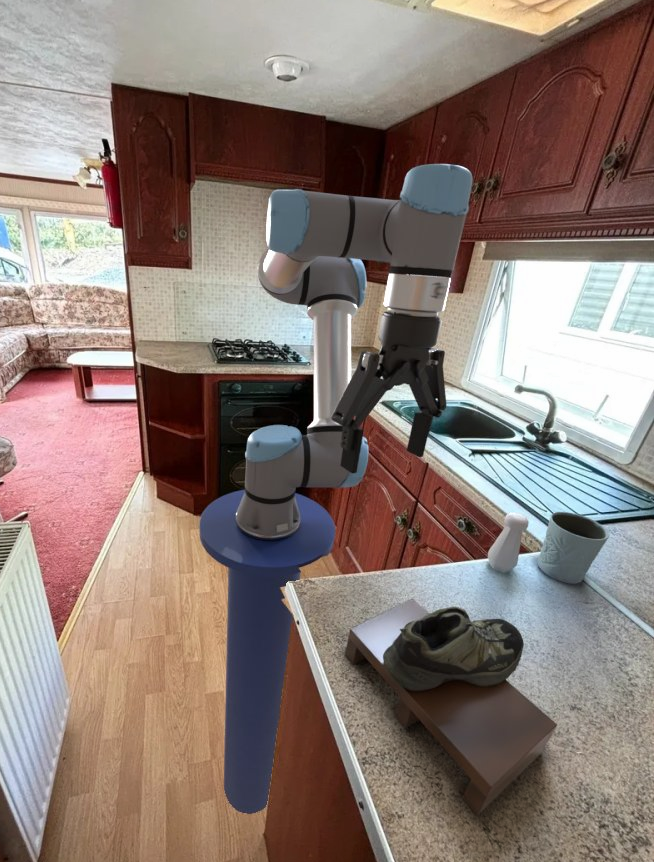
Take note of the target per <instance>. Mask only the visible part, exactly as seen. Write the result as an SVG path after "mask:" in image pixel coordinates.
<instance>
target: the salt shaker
mask: <svg viewBox="0 0 654 862" xmlns="http://www.w3.org/2000/svg"><path fill="white" fill-rule="evenodd" d="M503 522H504V525H505V526H504V528H503V529H502V530H501V532H500V534H499V535H498V537H497V538H496V540H495V541H494V543H492V545H491V546H490V548H489V550H488V552H487V559H488V560H487V561H488V565H490V567H491V568H492V569H493V570H495V571H497V572H500V573H503V574H505V573H510V572H511V571H512V570H513V569H515V568H516V567H517V566H518V562H519V556H520V550H521V543H522V537H523V532H524V531H526V530H527V529H528V527H529V519H528V518H527V517H526V516H525V515H524V514H520V513H517V512H509V513H507V514H506V515H505V517H504V521H503Z"/></svg>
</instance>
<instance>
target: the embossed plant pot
mask: <svg viewBox="0 0 654 862" xmlns="http://www.w3.org/2000/svg"><path fill="white" fill-rule="evenodd" d="M609 538H610V532H609V531H608V529H606V527H604V526H603V525H602V524H601V523H600V522H598V521H595V520H594V519H592V518H589V517H587V516H584V515H582V514H578V513H574V512H569V511H556V512H553V513H552V514H550V516H549V520H548V525H547V529H546V532H545V537H544V539H543V542H542V547H541V550H540V554H539V557H538V558H537V565H538V567H539V569H540V570H541V571H542V572H543V573H545V575H547V576H549V577H550V578H552V579H555V580H557V581H559V582H562V583H566V584H575V585H576V584H579V583H581V582H582V581H583V580H584V578H585V577H586V574H587V573H588V571H589V570H590V568H591V566H592V564H593V562H594V561H595V560H596V558H597V556H598V555H599V553H600V552H601V550H602V548H603V547H604V546H605V544H606V542H607V541H608V539H609Z"/></svg>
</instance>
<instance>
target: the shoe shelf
mask: <svg viewBox="0 0 654 862" xmlns="http://www.w3.org/2000/svg"><path fill="white" fill-rule="evenodd" d="M430 613H431V612H429V611H428V610H427V609H425V608H424V607H423V606H422V605H421V604H420V603H419V602H417V601H416V600H415V599H414V598H410V599H409V600H407V601H405V602H402V603H400V604H398V605H396V606H394V607H392V608H390V609H388V610H385V611H384V612H381V613H379V614H378V615H375V616H373V617H371V618H370V619H366V621H363V622H361V623H359V624H357V625H355V626H352V627H351V628H349V632H348V638H347V643H346V648H345V653H344V657H346V659H347V660H348V661H349V662H350V664H351V665H352V666H354V665H356V664H358V663H360V662H362V661H363V660H365V659H366V660H367V662H369V664H371V666H372V667H374V669H375V671H376V672H377V673H378V674H379V675H380V676H381V677H382V678H383V680H384V681H385V682H386V683H387V685H389V686H390V688H391V689H392V690H393V691H394V692H395V693H396V694H397V695H398V697H399V701H398V705H397V706H396V707H397V708H396V711H395V714H394V717H395V719H396V720H397V721H398V722H399V723H400V725H401V726H402V727H403V728H404V730H405V729H406V730H407V729H408V728H409V727H410V726H412V725H413V724H415V723H416V722H418V721H420V722H421V724H423V725H424V726H425V728H426V729H427V730H428V732H429V733H430V734H432V736H433V738H434V739H436V741H437V742H438V743H439V744H440V746H441V747H443V749H444V750H445V751H446V752H447V754H448V755H449V756H450V757H451V758H452V759H453V760H454V761H455V763H456V765H458V766H459V767H460V769H461V770H462V771H463V772H464V773H465V774H466V775H467V776H468V778H469V779H470V781H469V783H468V785H467V787H466V789H465V791H464V794H463V796H462V800H463V801H464V803H465V804H466V806H468V808H469V809H470V810H471V811H472V813H473V814H474V815H475V816H476V817H478V816H479V815H480V814H481V813H482V812H483V811H484V810H485V809H486V808H487V807H488V806H490V804H492V802H493V801H495V799H496V798H498V796H499V795H501V793H502V792H504V791H505V790H506V789H507V788H508V787H509V786H510V785H511V783H513V782H514V781H515V780H516V779H517V778H518V777H519V776H521V774H522V773H523V772H524V771H525V770H526V769H527V768H528V767H530V765H531V764H532V763H533V762H534V761H535V760H536V759H537V758H538V757H539V756H540V755H541V754H542V753H543V751H544V750H545V748H546V746H547V744H548V743H549V741H550V739H551V737H552V736H553V734H554V732H555V730H556V728H557V727H558V724H557V723H556V722H555V721H554V720H553V719H552V718H550V717H549V716H548V715H547V714H546V713H544V711H542V710H541V709H540V708H539V707H538V706H537V705H535V704H534V702H532V701H531V700H530V699H528V697H527V696H525V694H523V693H522V692H521V691H519V690H518V688H516V687H515V686H514V685H513V684H511V683H510V682H509V681H508V680H507V679H505V680H504V681H502V682H501V683H500V684H498V685H491V686H487V687H481V686H476V685H473V684H471V683H468V682H465V681H461V680H450V681H446V682H444V683H442V684H440V685H438V686H437V687H435V688H433V689H428V690H424V691H412V690H409V689H406V688H404V687H403V686H401V685H400V684H398V683H397V682H396V681H395V680H394V679H393V678H392V677H391V675H390V674H389V673H388V671H387V669H386V667H385V665H384V661H383V653H384V652H385V651H386V649H387V648H388V647H389V646H391V645H392V644H393V642H394V640H395V639H397V638H398V636H399V635H400V634H401V631H400V629H403V628H404V627H405V626H406V624H408V623H409V622H411V621H414V620H420V619H421V618H423V617H424V616H426V615H428V614H430Z"/></svg>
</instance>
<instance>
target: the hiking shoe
mask: <svg viewBox="0 0 654 862" xmlns="http://www.w3.org/2000/svg"><path fill="white" fill-rule="evenodd" d="M429 613H430V614H428V615H426V616H424V617H423V618H421V619H420V620H414V621H411V622H409V623H408V624H406V626H405V627H404V628H403V629H400V631H401V634H400V635H399V636H398V638H397V639H395V640H394V642H393V644H392V645H391V646H389V647H388V648H387V649H386V651H385V652H384V653H383V661H384V665H385V667H386V669H387V671H388V673H389V674H390V675H391V677H392V678H393V679H394V680H395V681H396V682H397V683H398V684H400V685H401V686H403V687H404V688H406V689H409V690H412V691H424V690H428V689H433V688H435V687H437V686H438V685H440V684H442V683H444V682H446V681H450V680H461V681H465V682H468V683H471V684H473V685H476V686H481V687H487V686H491V685H498V684H500V683H501V682H502V681H504V680H505V679H506V680H507V679H508V678H509V677H510V676H511V675H512V674H513V673H514V672H515V671H517V667H518V666H519V663H520V662H521V659H522V655H523V651H524V644H525V643H524V639H523V635H522V634H521V631H520V630H519V629H518V628H517V627H516V626H515V625H514V624H512V623H511V622H509V621H507V620H505V619H503V618H485V619H480V620H477V619H475V620H471V619H470V616H469V614H468V613H467V611H466V610H465V608H462V607H459V606H448V607H445V608H440V609H437V610H434V611H432V612H429Z"/></svg>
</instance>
